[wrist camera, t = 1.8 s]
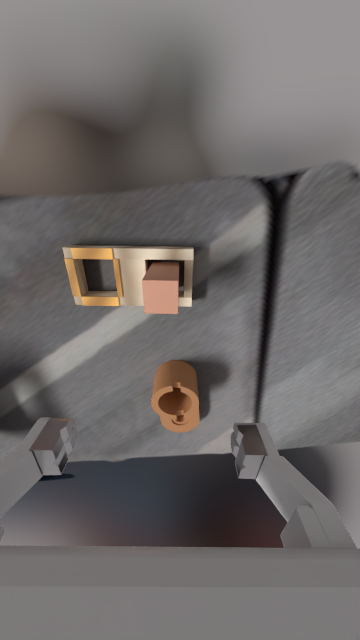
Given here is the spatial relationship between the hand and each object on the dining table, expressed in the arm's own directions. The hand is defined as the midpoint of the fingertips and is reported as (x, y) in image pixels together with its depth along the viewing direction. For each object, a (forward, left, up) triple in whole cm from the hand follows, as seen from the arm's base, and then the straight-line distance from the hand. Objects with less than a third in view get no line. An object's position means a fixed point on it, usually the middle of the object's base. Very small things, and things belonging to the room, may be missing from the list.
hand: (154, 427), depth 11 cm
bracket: (+17, +18, -26) cm, 35 cm away
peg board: (+3, -5, -25) cm, 26 cm away
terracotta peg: (0, -2, -25) cm, 25 cm away
